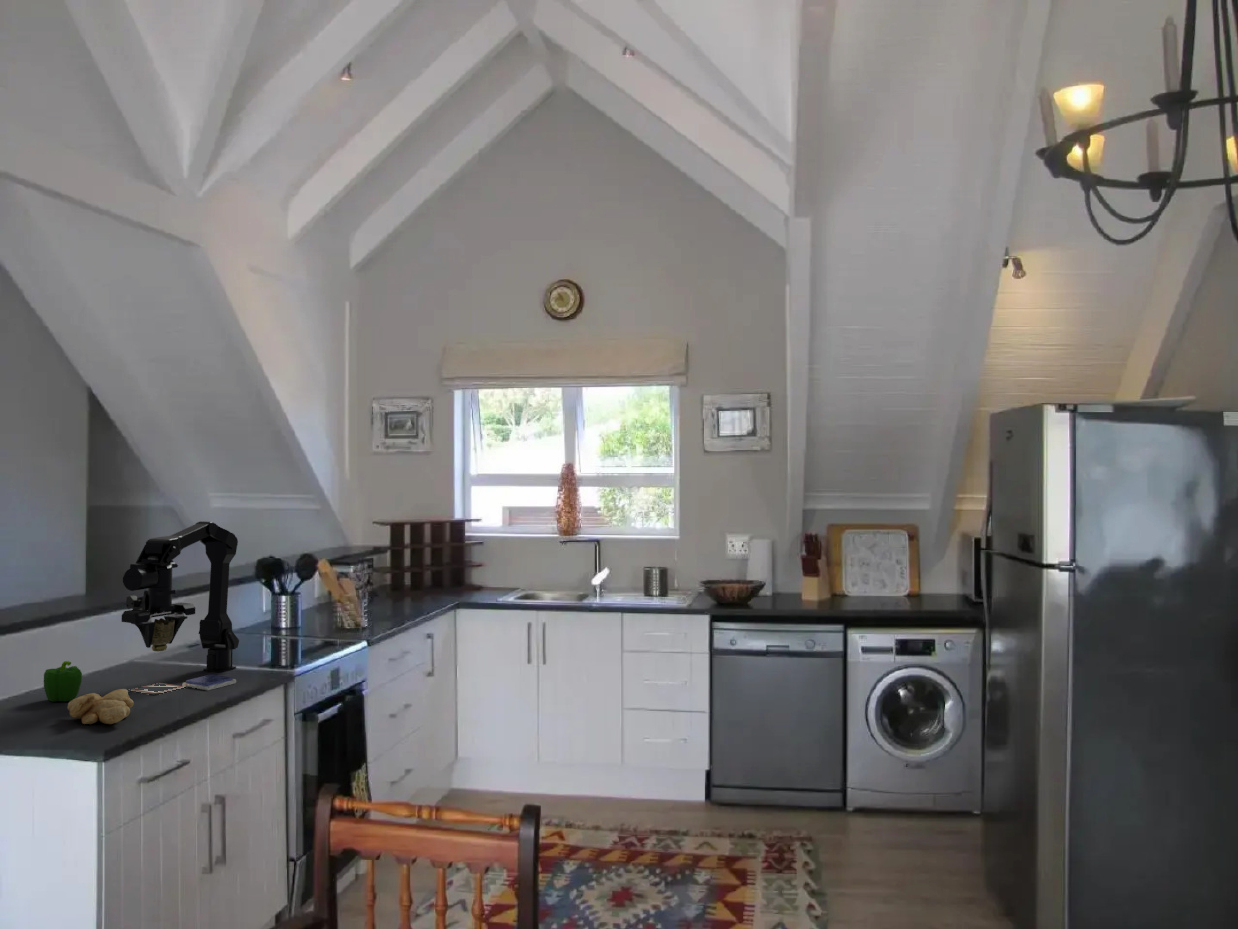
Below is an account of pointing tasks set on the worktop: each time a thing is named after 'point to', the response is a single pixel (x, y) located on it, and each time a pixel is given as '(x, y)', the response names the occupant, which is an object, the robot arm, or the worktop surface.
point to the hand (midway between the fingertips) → (159, 645)
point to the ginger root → (101, 707)
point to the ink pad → (209, 682)
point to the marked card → (158, 686)
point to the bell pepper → (62, 682)
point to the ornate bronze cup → (162, 634)
